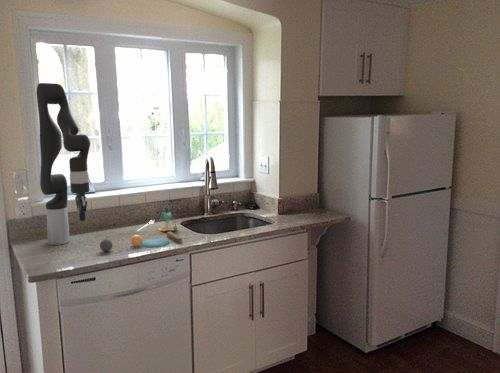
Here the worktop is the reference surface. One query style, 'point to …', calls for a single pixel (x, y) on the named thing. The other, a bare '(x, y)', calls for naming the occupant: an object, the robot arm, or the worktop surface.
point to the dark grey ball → (106, 245)
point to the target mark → (155, 243)
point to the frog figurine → (167, 217)
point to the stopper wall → (174, 237)
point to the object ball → (136, 240)
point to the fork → (146, 225)
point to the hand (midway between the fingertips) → (82, 220)
